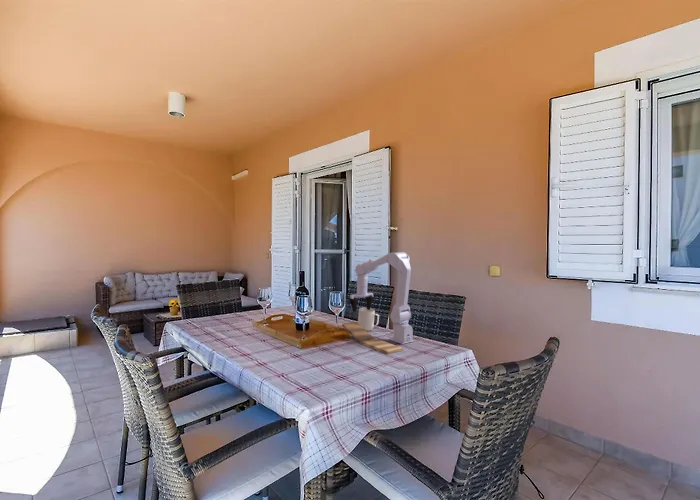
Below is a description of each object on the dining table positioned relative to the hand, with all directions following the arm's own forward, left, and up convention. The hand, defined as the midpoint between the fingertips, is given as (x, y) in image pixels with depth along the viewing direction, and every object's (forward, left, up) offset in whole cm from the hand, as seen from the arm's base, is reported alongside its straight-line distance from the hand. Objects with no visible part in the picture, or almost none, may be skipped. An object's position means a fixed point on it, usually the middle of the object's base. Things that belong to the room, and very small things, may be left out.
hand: (361, 310), depth 202 cm
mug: (-1, -4, -11) cm, 12 cm away
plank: (-11, +11, -8) cm, 18 cm away
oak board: (-29, +11, -11) cm, 33 cm away
